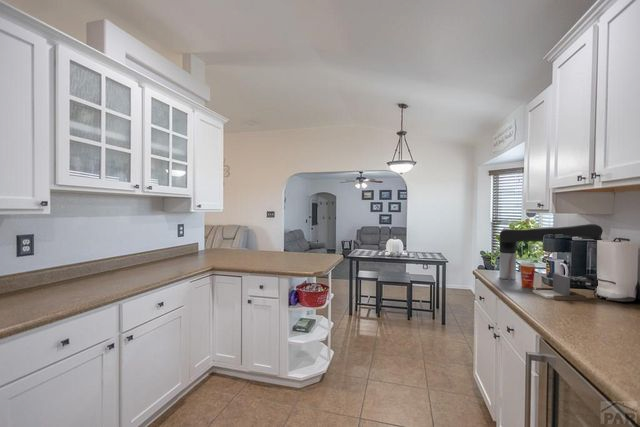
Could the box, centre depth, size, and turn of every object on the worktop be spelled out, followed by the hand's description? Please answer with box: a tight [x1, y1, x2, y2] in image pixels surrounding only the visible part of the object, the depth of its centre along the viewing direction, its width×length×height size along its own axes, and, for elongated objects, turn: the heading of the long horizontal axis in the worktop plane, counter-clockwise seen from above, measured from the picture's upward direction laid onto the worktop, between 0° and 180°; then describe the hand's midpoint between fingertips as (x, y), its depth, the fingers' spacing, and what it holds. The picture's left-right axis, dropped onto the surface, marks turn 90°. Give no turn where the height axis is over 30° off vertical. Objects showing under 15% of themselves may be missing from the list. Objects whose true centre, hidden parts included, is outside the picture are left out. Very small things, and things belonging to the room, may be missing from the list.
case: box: [535, 287, 587, 301], centre depth 164 cm, size 16×15×2 cm
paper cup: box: [519, 261, 536, 289], centre depth 183 cm, size 8×8×14 cm
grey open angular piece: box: [532, 272, 571, 300], centre depth 165 cm, size 12×12×11 cm
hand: (563, 280), depth 164 cm, fingers closed
